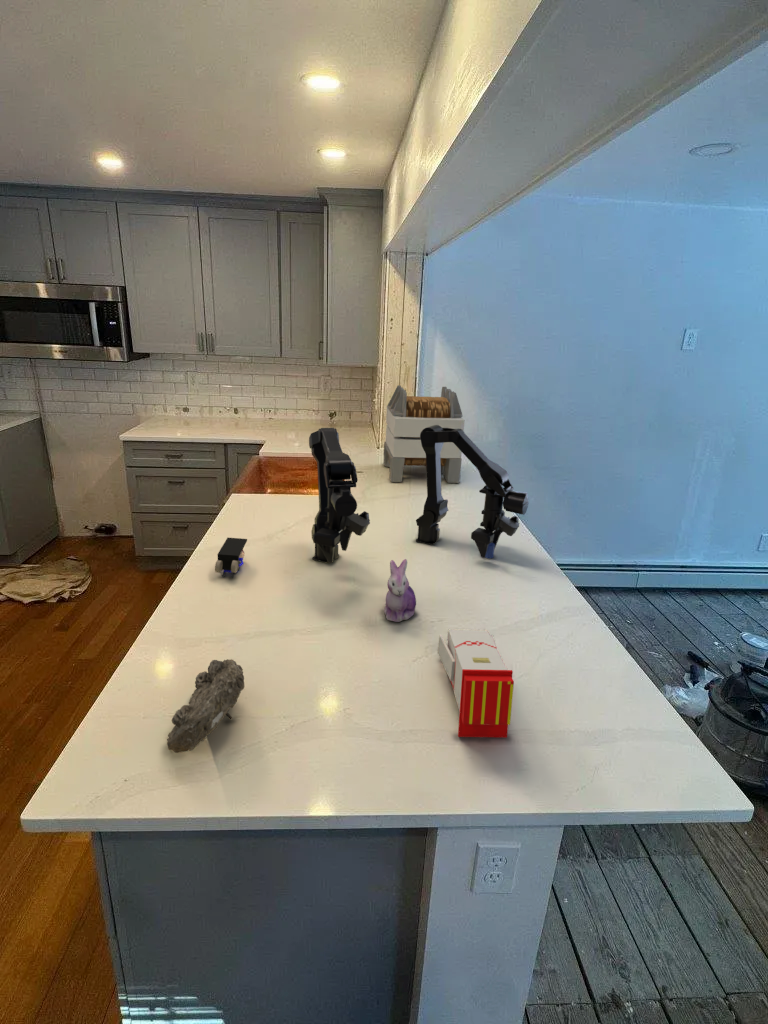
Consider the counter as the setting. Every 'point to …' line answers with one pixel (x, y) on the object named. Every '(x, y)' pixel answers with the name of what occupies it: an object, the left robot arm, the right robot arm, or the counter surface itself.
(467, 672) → the toy
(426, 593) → the counter surface
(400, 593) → the figurine
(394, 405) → the grey crate with roll
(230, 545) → the black wheeled cart
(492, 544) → the canister
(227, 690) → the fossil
